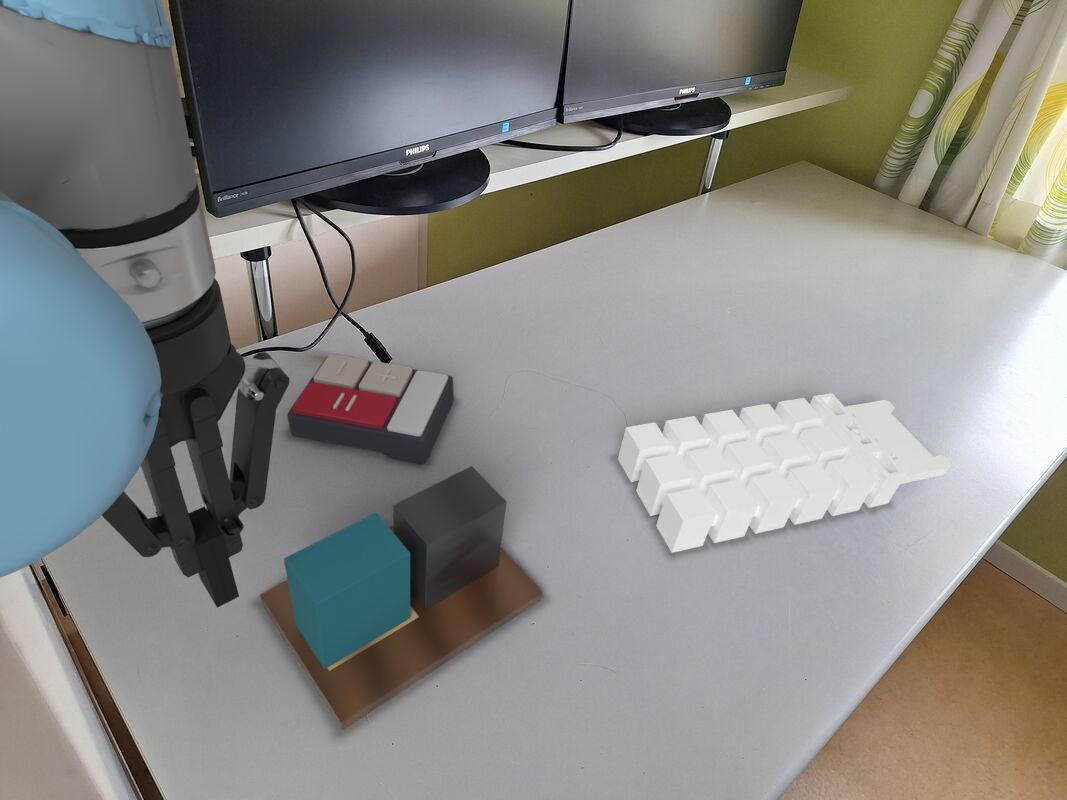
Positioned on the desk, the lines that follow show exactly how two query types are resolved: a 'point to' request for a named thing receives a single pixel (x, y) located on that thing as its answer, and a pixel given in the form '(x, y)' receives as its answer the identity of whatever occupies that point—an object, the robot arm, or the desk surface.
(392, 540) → the teal block
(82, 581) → the desk surface
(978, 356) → the desk surface
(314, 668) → the wooden stand
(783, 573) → the desk surface
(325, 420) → the calculator
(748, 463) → the white ice cube tray
